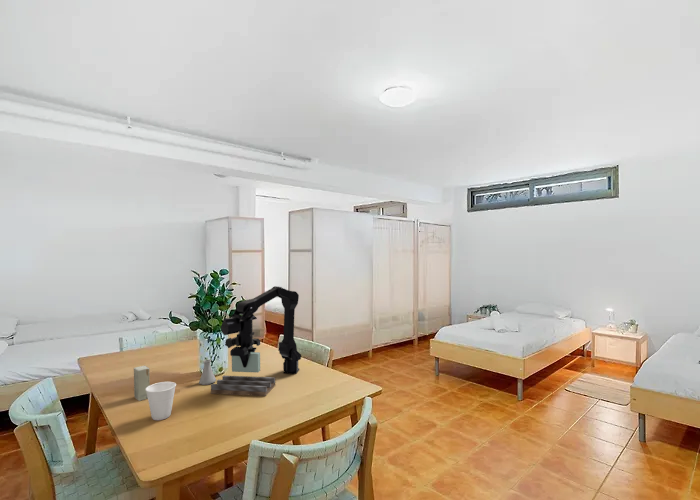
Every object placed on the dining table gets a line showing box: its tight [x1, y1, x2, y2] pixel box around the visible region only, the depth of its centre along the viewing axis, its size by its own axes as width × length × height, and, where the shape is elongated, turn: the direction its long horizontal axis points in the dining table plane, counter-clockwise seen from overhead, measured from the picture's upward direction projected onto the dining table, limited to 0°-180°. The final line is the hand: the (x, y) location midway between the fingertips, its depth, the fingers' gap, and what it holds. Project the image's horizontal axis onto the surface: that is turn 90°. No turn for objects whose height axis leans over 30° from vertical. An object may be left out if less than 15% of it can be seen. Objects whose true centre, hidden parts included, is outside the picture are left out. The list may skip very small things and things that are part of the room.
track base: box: [210, 375, 276, 397], centre depth 157 cm, size 24×12×4 cm, turn 83°
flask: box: [198, 359, 217, 386], centre depth 166 cm, size 7×7×10 cm
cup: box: [145, 381, 177, 421], centre depth 132 cm, size 10×10×11 cm
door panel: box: [231, 351, 261, 373], centre depth 160 cm, size 12×2×8 cm, turn 83°
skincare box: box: [133, 365, 151, 402], centre depth 149 cm, size 6×4×12 cm
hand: (246, 366), depth 160 cm, fingers closed on door panel, 2 cm apart
